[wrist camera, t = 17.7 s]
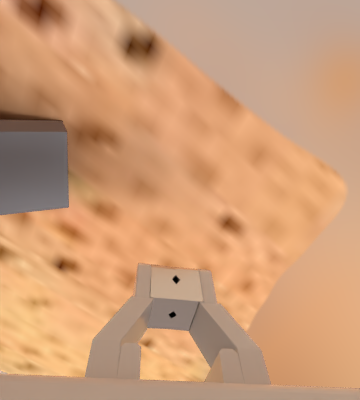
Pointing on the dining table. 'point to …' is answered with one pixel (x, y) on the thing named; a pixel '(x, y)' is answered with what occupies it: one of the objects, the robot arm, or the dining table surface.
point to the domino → (33, 166)
